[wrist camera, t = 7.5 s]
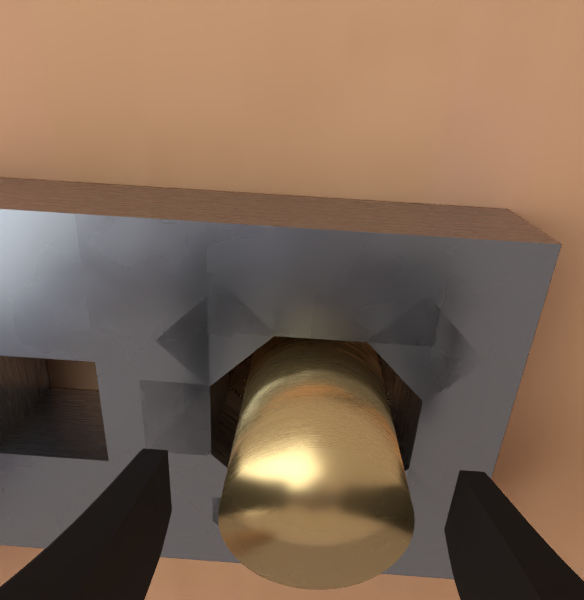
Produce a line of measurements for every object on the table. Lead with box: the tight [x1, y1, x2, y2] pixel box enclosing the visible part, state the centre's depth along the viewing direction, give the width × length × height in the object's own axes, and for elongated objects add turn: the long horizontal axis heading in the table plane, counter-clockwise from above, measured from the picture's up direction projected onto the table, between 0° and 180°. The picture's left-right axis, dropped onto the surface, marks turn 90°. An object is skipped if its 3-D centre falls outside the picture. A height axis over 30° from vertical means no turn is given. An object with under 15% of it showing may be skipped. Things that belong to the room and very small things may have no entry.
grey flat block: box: [0, 178, 562, 579], centre depth 16 cm, size 18×12×4 cm, turn 87°
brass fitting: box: [218, 336, 415, 589], centre depth 14 cm, size 4×4×7 cm
